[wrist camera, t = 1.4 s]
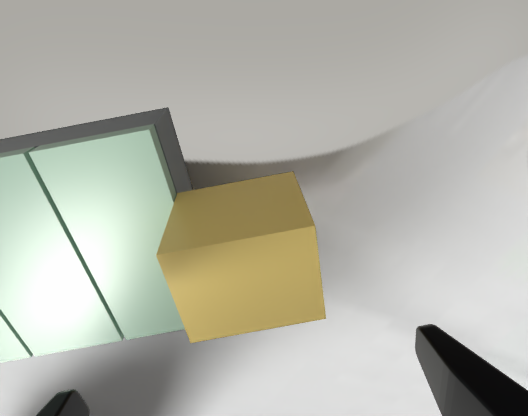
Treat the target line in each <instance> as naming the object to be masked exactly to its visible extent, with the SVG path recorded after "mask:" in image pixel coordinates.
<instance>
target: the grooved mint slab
mask: <svg viewBox="0 0 528 416" xmlns="http://www.w3.org/2000/svg"><path fill="white" fill-rule="evenodd" d="M321 319H326V315H325V306H324V298H323V289H322V280H321V272H320V263H319V254H318V246H317V237H316V228H315V224H314V222H313V219H312V217H311V214H310V212H309V209H308V207H307V204H306V202H305V199H304V197H303V194H302V192H301V189H300V187H299V184H298V182H297V179H296V177H295V175H294V172H293V171H292V172H287V173H281V174H276V175H271V176H265V177H260V178H255V179H249V180H244V181H239V182H233V183H228V184H223V185H217V186H212V187H207V188H201V189H196V190H191V191H186V192H180V193H177V194H176V191H175V188H174V185H173V182H172V179H171V176H170V173H169V170H168V166H167V163H166V160H165V157H164V154H163V151H162V148H161V145H160V142H159V139H158V136H157V133H156V130H155V126H154V124H151V125H146V126H140V127H135V128H130V129H125V130H119V131H114V132H109V133H104V134H98V135H93V136H88V137H83V138H77V139H72V140H67V141H62V142H56V143H51V144H46V145H41V146H38V147H36V148H35V147H30V148H25V149H20V150H14V151H9V152H4V153H0V363H3V362H8V361H14V360H19V359H25V358H30V357H32V355H34V356H35V357H36V356H41V355H47V354H52V353H58V352H63V351H69V350H74V349H80V348H85V347H91V346H96V345H102V344H107V343H113V342H118V341H122V340H123V337H125V339H126V340H129V339H135V338H140V337H146V336H151V335H156V334H162V333H167V332H173V331H178V330H184V329H185V330H186V333H187V335H188V338H189V340H190V343H194V342H200V341H205V340H211V339H216V338H222V337H227V336H233V335H238V334H244V333H249V332H255V331H260V330H266V329H271V328H277V327H282V326H288V325H293V324H299V323H304V322H310V321H315V320H321Z"/></svg>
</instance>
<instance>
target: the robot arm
mask: <svg viewBox="0 0 528 416" xmlns="http://www.w3.org/2000/svg"><path fill="white" fill-rule="evenodd" d="M415 350H416V354H417V357H418V360H419V362H420V365H421V367H422V369H423V372H424V374H425V376H426V379H427V381H428V384H429V386H430V388H431V391H432V393H433V395H434V398H435V400H436V403H437V405H438V407H439V410H440V412H441V414H442V416H528V390H526V389H525V388H523V387H522V386H521V385H519V384H518V383H516V382H515V381H514V380H512V379H511V378H509V377H508V376H507V375H505V374H504V373H502V372H501V371H499V370H498V369H497V368H495V367H494V366H492V365H491V364H490V363H488V362H487V361H485V360H484V359H482V358H481V357H480V356H478V355H477V354H475V353H474V352H473V351H471V350H470V349H468V348H467V347H465V346H464V345H463V344H461V343H460V342H458V341H457V340H456V339H454V338H453V337H451V336H450V335H448V334H447V333H446V332H444V331H443V330H441V329H440V328H439V327H437V326H436V325H433V324H428V325H423V326H418V327H417V329H416V342H415ZM36 416H89V408H88V406H87V404H86V403H85V401H84V400H83V399H82V397H81V396H80V394H79V393H78V391H76V390H74V389H73V390H67V391H62V392H59V393H57V394H56V395H55V396H54V397H53V398H52V399H51V400H50V401H49V402H48V403H47V405H46V406H45V407H44V408H43V409H42V410H41V411H40V412H39V413H38V414H37V415H36Z"/></svg>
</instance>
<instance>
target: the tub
mask: <svg viewBox="0 0 528 416" xmlns="http://www.w3.org/2000/svg"><path fill="white" fill-rule="evenodd" d="M151 124H154V126H155V130H156V133H157V136H158V139H159V142H160V145H161V148H162V151H163V154H164V157H165V160H166V163H167V166H168V170H169V173H170V176H171V179H172V182H173V185H174V188H175V191H176V194H177V193H180V192H186V191H191V190H193V189H192V185H191V182H190V179H189V175H188V172H187V169H186V165H185V162H184V159H183V155H182V152H181V149H180V145H179V142H178V138H177V135H176V132H175V129H174V125H173V122H172V119H171V115H170V112H169V108H163V109H157V110H152V111H148V112H142V113H136V114H131V115H126V116H121V117H115V118H111V119H105V120H100V121H95V122H90V123H84V124H79V125H74V126H69V127H63V128H58V129H53V130H47V131H42V132H37V133H32V134H26V135H21V136H16V137H11V138H5V139H0V153H4V152H9V151H14V150H20V149H25V148H30V147H35V148H36V147H38V146H41V145H46V144H51V143H56V142H62V141H67V140H72V139H77V138H83V137H88V136H93V135H98V134H104V133H109V132H114V131H119V130H125V129H130V128H135V127H140V126H146V125H151Z"/></svg>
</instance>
